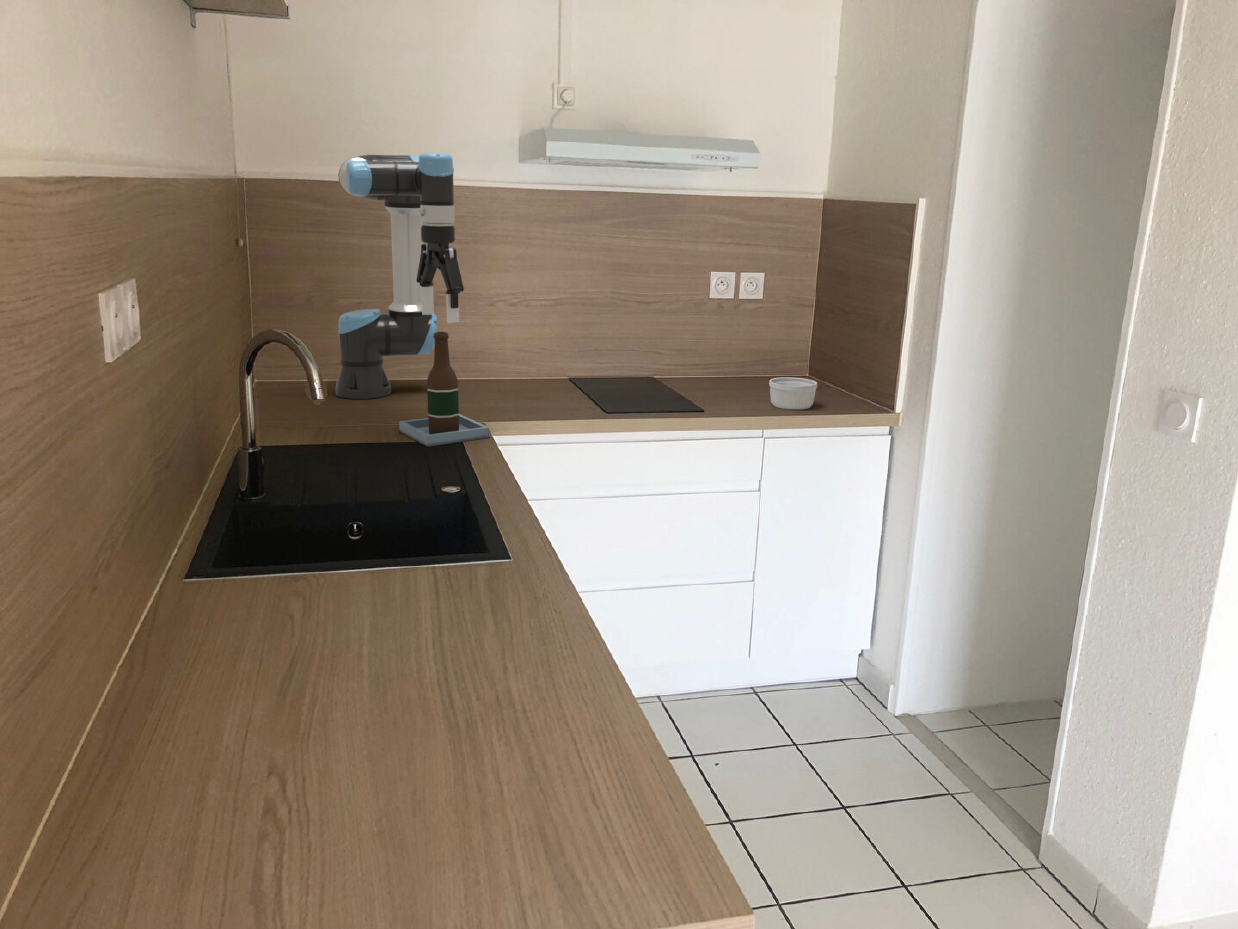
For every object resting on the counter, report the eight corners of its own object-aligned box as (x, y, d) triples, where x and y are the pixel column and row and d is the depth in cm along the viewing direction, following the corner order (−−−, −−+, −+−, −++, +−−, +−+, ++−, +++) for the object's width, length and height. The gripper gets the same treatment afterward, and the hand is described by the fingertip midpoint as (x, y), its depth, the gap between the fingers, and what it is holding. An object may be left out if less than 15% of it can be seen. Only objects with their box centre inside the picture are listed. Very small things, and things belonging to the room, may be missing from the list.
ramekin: (769, 399, 281) (770, 375, 279) (815, 402, 279) (817, 378, 277) (766, 409, 269) (768, 384, 267) (815, 412, 266) (817, 387, 264)
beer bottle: (453, 437, 230) (450, 335, 224) (422, 434, 232) (418, 334, 225) (465, 429, 238) (462, 331, 231) (434, 427, 239) (431, 329, 232)
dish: (399, 431, 237) (399, 421, 236) (459, 423, 246) (459, 413, 245) (427, 446, 224) (426, 436, 224) (489, 437, 233) (489, 427, 232)
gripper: (400, 221, 229) (403, 312, 235) (446, 228, 209) (448, 327, 216) (429, 221, 233) (432, 310, 239) (477, 227, 213) (479, 324, 220)
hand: (440, 318), depth 227 cm, fingers open, 13 cm apart
